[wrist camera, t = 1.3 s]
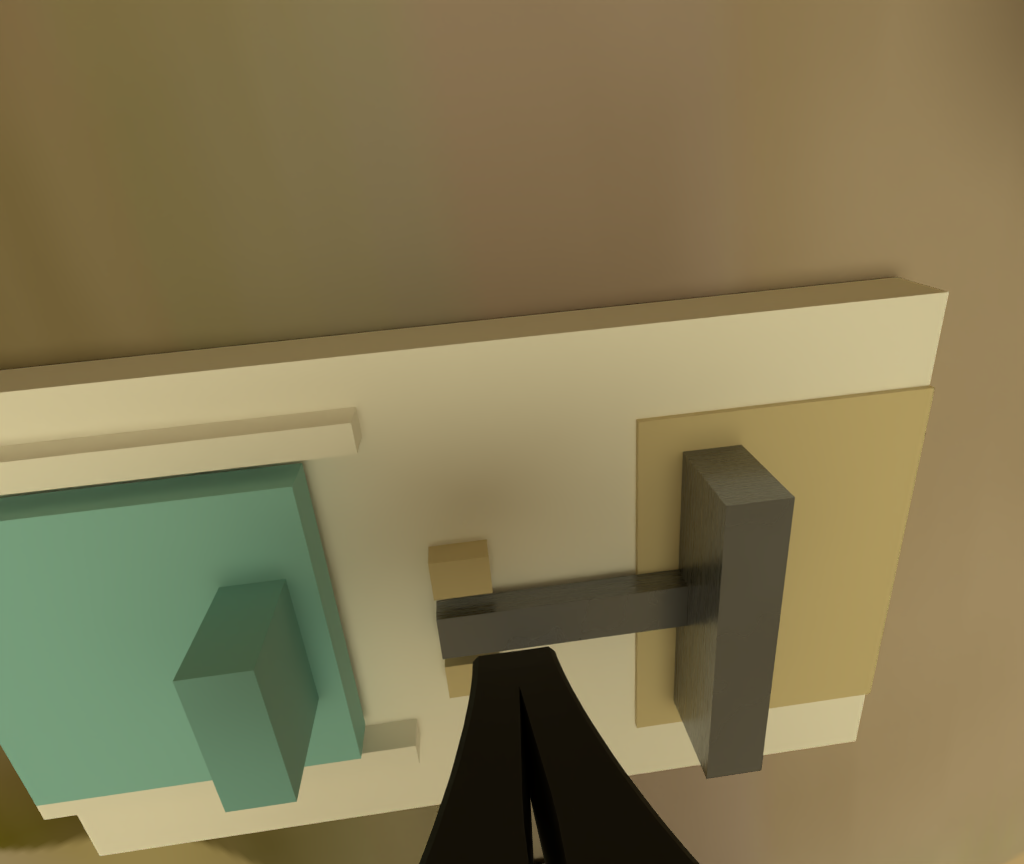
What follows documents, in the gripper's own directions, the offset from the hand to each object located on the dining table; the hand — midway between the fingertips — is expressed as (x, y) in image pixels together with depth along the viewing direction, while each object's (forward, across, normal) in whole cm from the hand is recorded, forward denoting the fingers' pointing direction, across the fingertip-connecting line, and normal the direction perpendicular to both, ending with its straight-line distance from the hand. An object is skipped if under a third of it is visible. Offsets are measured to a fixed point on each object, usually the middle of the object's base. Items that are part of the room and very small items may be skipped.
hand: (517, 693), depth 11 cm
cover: (+7, +9, +3) cm, 11 cm away
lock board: (+9, +1, +4) cm, 9 cm away
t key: (+6, -3, +4) cm, 8 cm away
